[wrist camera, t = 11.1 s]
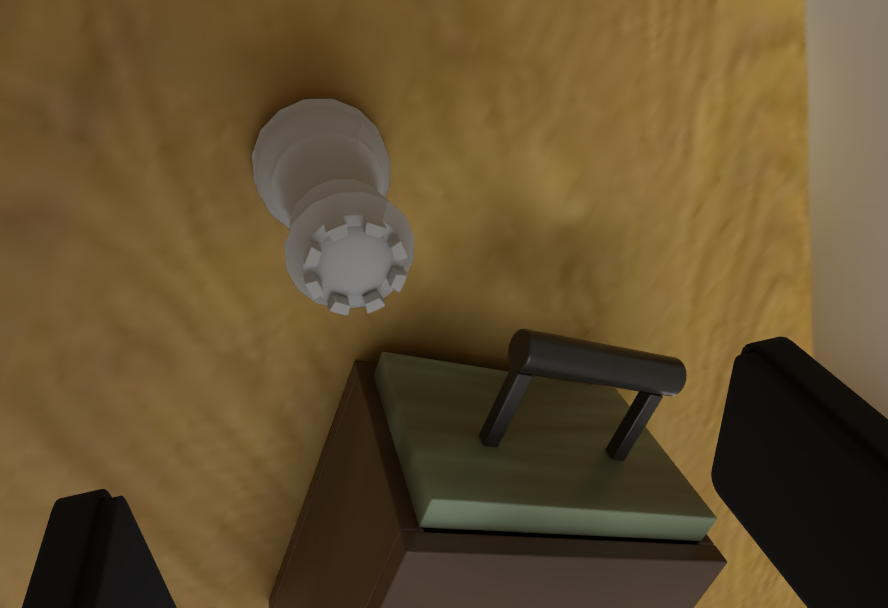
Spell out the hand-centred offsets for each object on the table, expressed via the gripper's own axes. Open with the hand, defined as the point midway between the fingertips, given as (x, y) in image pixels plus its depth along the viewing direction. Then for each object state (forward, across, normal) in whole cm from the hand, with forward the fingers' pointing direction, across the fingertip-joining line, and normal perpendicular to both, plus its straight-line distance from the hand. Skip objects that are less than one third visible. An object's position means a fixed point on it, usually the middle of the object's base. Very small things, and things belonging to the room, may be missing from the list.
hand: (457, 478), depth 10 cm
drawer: (+14, -4, +14) cm, 20 cm away
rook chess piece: (+15, +1, 0) cm, 15 cm away
